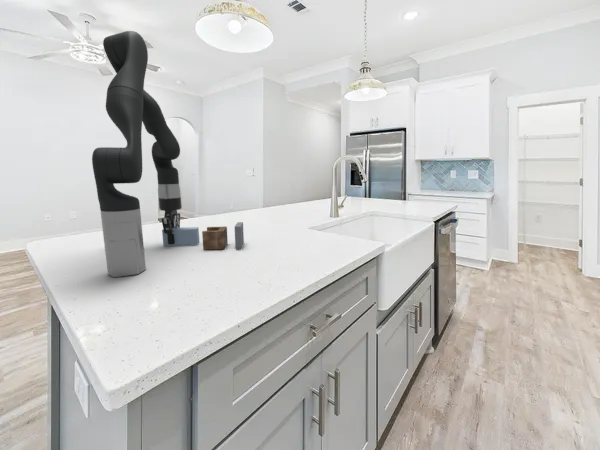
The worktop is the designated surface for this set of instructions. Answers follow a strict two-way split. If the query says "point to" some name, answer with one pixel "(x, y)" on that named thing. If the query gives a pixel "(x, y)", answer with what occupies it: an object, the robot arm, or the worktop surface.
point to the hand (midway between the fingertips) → (173, 242)
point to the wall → (239, 235)
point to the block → (215, 238)
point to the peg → (183, 236)
